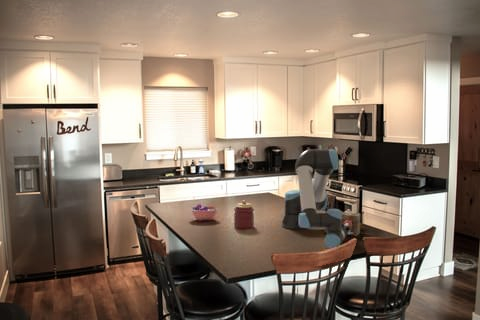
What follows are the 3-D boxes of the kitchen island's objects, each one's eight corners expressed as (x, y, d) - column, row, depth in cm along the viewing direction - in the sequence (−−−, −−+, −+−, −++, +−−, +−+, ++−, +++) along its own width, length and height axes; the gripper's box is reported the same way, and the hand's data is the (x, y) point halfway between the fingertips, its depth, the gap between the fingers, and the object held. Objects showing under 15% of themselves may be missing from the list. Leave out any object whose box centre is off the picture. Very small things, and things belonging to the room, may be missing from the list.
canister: (236, 230, 273) (236, 202, 272) (231, 225, 286) (231, 199, 284) (256, 229, 277) (256, 201, 275) (250, 224, 289) (250, 198, 288)
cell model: (215, 223, 291) (215, 207, 290) (186, 222, 295) (186, 205, 294) (221, 218, 307) (221, 202, 306) (194, 217, 311) (194, 201, 310)
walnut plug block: (324, 232, 269) (324, 213, 268) (327, 229, 276) (328, 210, 275) (357, 235, 260) (357, 216, 259) (359, 232, 267) (360, 213, 266)
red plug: (343, 229, 259) (343, 220, 258) (347, 224, 270) (347, 216, 270) (351, 230, 257) (352, 221, 256) (356, 225, 268) (356, 217, 267)
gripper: (326, 240, 239) (336, 230, 260) (350, 243, 234) (358, 232, 255) (326, 226, 238) (336, 218, 260) (350, 229, 233) (358, 220, 254)
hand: (347, 225), depth 257 cm, fingers closed
